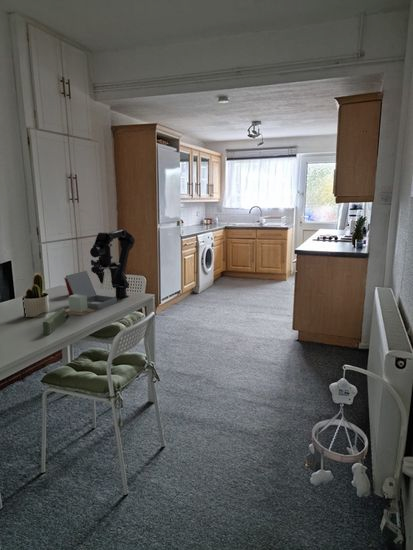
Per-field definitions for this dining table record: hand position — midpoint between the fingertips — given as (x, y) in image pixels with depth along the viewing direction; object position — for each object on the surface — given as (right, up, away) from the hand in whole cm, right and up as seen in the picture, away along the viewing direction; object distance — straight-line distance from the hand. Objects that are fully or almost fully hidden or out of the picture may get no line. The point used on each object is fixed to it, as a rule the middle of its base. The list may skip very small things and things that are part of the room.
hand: (107, 281), depth 212 cm
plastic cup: (-27, -9, +23) cm, 37 cm away
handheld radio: (-15, -21, -33) cm, 42 cm away
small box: (-34, -17, -16) cm, 41 cm away
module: (-12, -15, -11) cm, 23 cm away
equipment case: (-9, -13, +3) cm, 16 cm away
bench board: (-12, -16, -11) cm, 23 cm away
